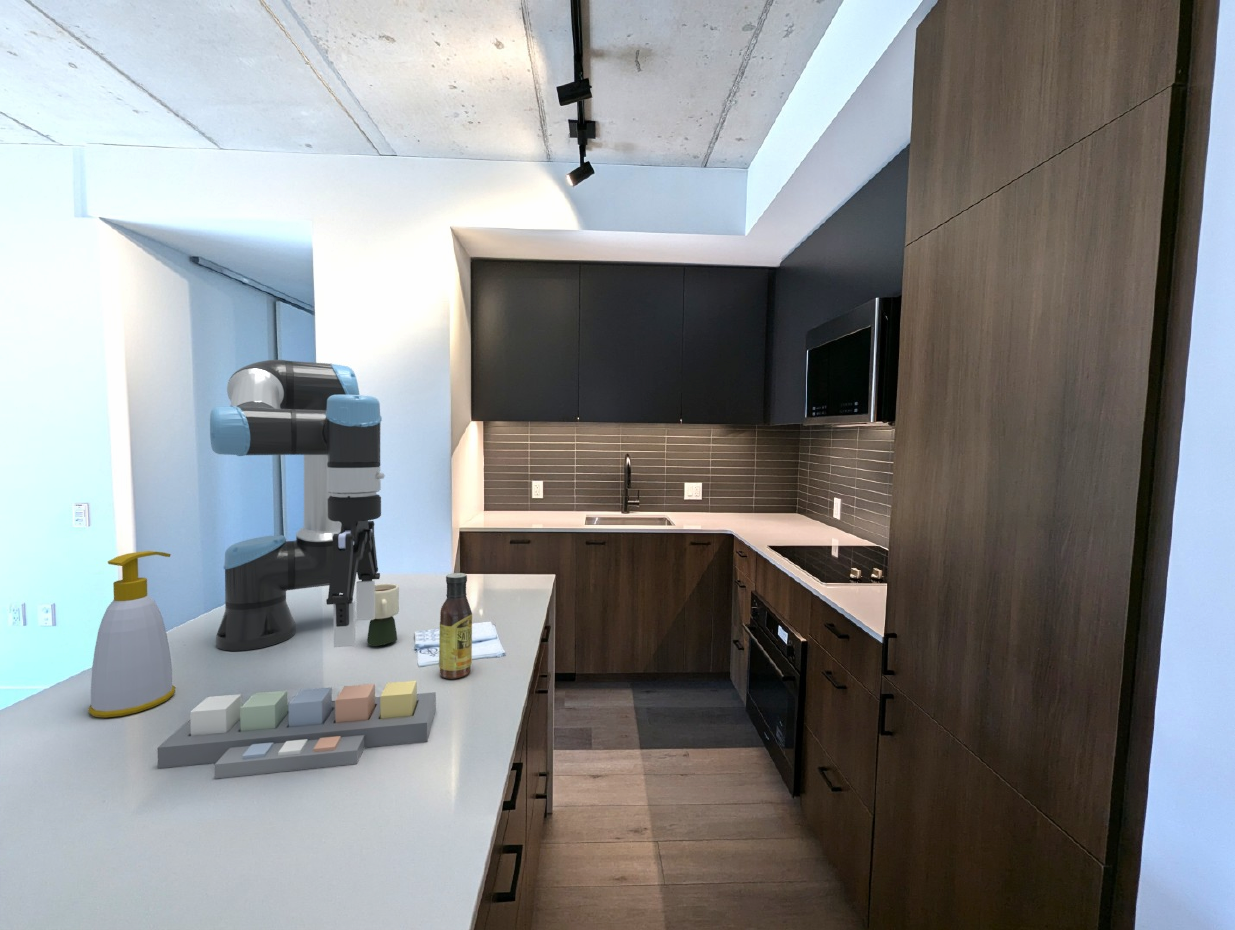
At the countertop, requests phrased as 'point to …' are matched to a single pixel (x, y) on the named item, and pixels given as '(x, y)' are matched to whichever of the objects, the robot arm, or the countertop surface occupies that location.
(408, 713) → the key mustard
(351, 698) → the key terracotta
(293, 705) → the key slate
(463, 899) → the countertop surface
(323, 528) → the robot arm
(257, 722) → the key sage
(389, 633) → the character mug
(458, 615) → the sauce bottle
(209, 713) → the key white
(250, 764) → the keypad
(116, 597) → the soap bottle
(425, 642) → the folded patterned cloth
